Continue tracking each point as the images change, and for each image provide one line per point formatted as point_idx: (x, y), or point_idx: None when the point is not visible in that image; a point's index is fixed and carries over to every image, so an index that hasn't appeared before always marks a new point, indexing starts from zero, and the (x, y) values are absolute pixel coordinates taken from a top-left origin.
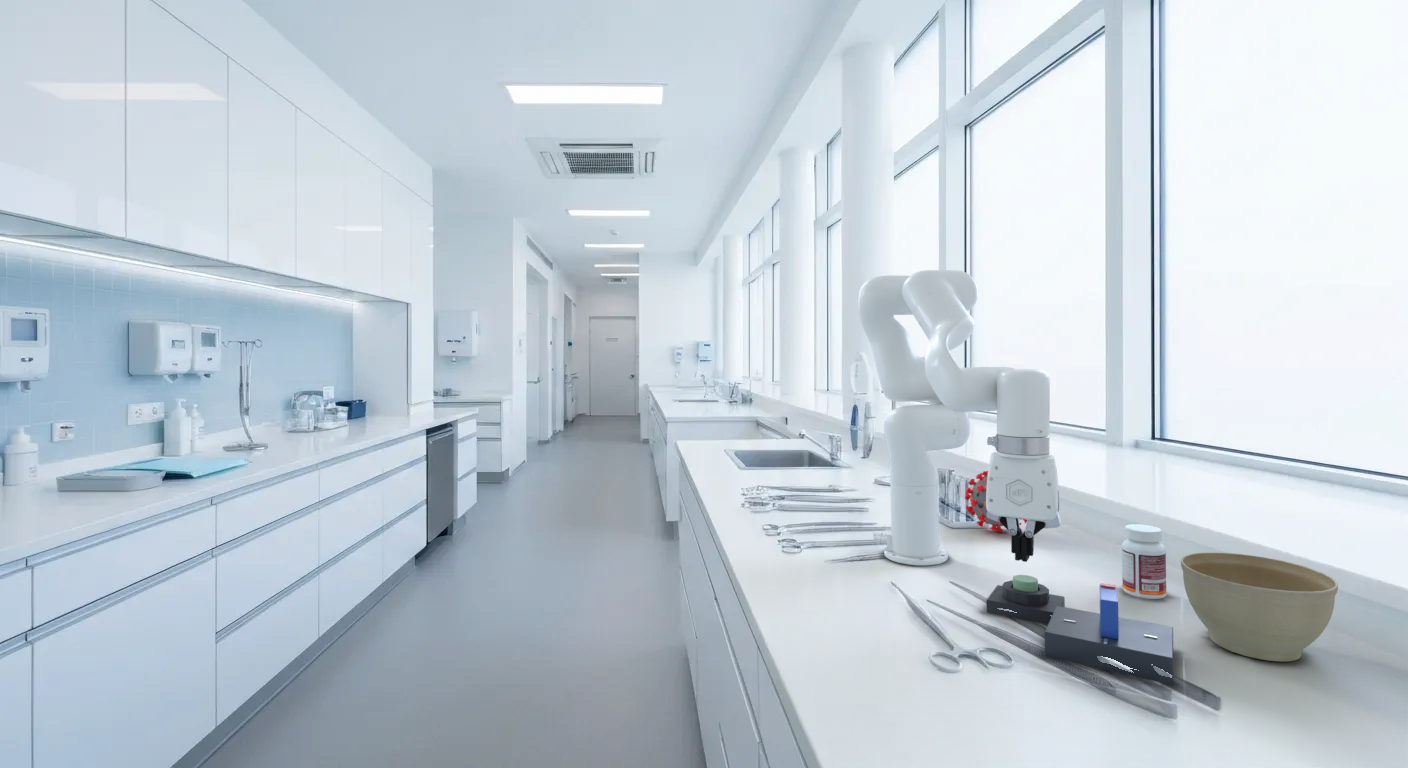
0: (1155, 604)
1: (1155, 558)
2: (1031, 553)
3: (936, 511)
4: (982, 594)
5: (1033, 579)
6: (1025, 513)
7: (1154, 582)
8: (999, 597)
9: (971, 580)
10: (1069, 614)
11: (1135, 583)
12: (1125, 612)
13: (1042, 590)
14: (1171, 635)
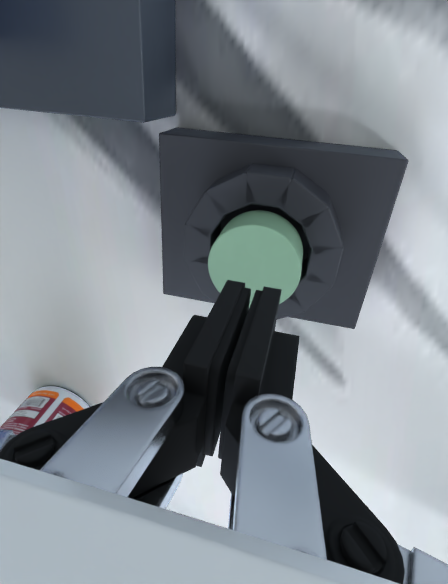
0: (38, 365)
1: None
2: (193, 318)
3: None
4: (398, 318)
5: (223, 267)
6: (4, 572)
7: (17, 411)
8: (353, 209)
9: (422, 411)
10: (88, 33)
11: (53, 411)
12: (67, 307)
13: (200, 239)
14: None
